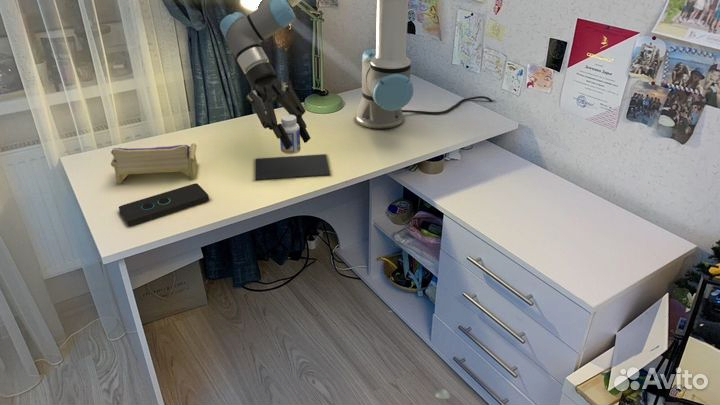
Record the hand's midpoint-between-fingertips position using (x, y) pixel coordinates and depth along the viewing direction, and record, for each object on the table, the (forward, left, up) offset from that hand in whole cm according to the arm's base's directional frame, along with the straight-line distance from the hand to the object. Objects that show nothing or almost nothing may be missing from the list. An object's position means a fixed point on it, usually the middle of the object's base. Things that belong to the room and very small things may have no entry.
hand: (298, 143), depth 149 cm
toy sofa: (+38, -5, -9) cm, 39 cm away
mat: (+2, -4, -9) cm, 10 cm away
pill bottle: (+2, -3, -4) cm, 5 cm away
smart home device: (+34, +12, -9) cm, 37 cm away
